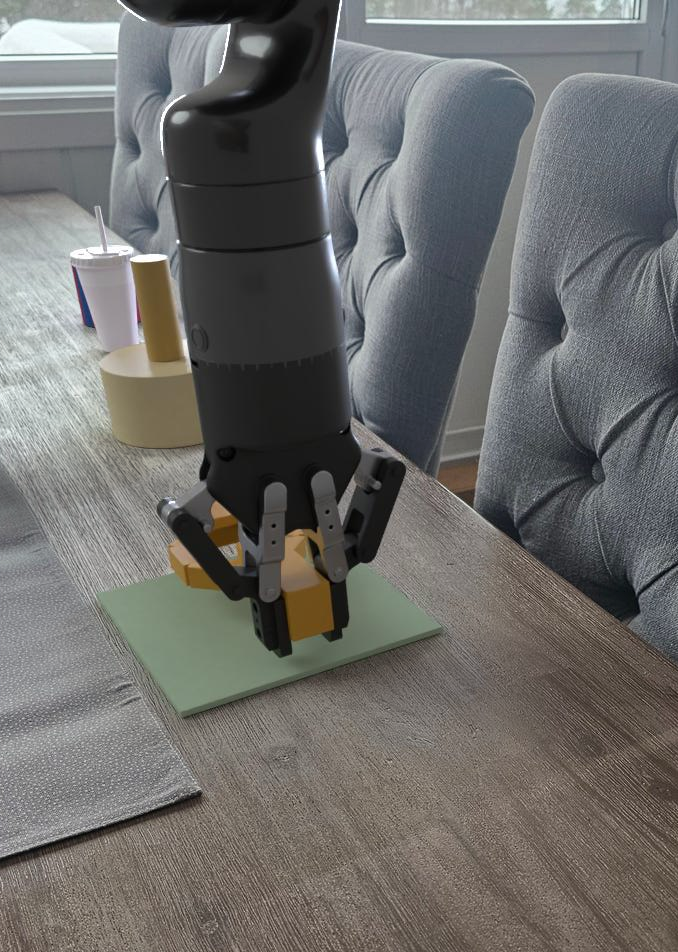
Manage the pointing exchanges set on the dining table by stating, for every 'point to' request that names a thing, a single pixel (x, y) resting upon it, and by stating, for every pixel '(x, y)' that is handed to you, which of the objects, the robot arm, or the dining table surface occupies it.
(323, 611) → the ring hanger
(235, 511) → the robot arm
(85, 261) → the smoothie
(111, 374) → the stand
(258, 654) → the mat
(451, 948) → the dining table surface
